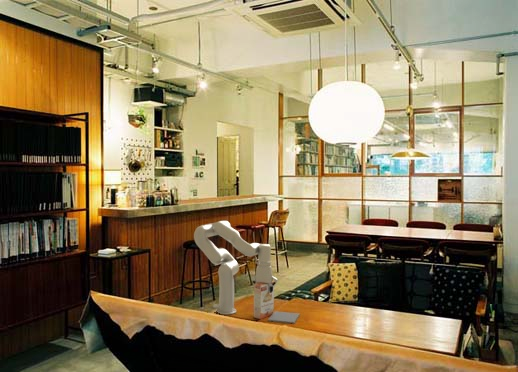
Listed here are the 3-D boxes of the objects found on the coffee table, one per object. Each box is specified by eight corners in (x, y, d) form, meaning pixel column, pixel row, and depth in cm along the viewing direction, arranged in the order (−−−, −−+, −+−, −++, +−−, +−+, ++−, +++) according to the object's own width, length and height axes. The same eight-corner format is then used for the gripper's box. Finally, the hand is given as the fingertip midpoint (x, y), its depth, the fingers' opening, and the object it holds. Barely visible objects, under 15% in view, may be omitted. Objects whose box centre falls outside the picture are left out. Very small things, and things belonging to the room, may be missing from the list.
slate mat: (267, 321, 262) (267, 319, 262) (274, 312, 279) (274, 311, 279) (294, 323, 258) (294, 322, 258) (299, 315, 275) (299, 313, 275)
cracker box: (260, 319, 264) (261, 285, 264) (253, 317, 268) (253, 283, 268) (274, 314, 276) (274, 281, 275) (266, 312, 279) (266, 280, 279)
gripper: (249, 264, 270) (249, 292, 270) (276, 266, 266) (276, 294, 266) (252, 262, 278) (252, 289, 278) (279, 263, 273) (279, 291, 273)
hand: (264, 291), depth 272 cm, fingers open, 8 cm apart
